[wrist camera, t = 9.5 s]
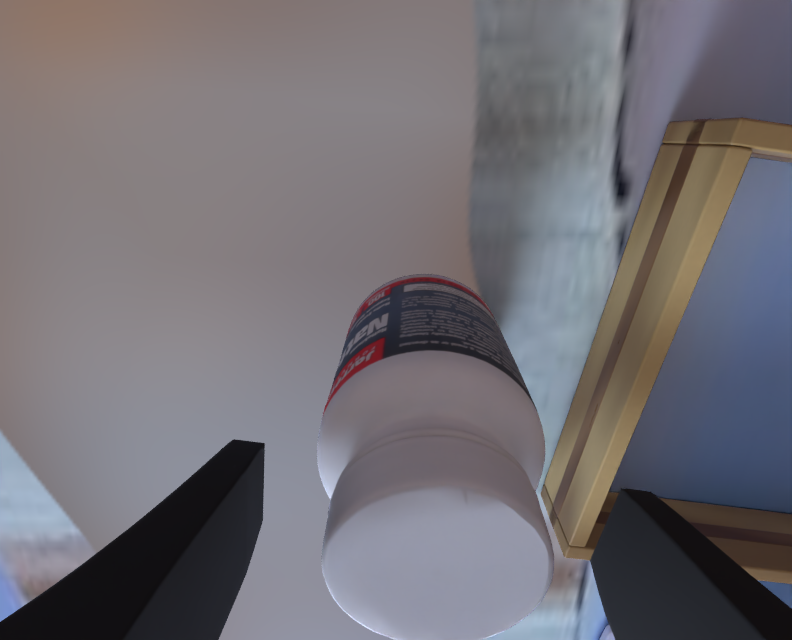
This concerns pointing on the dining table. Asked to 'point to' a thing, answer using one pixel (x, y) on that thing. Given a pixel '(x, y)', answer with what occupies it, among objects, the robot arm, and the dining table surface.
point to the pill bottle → (432, 469)
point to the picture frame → (662, 343)
